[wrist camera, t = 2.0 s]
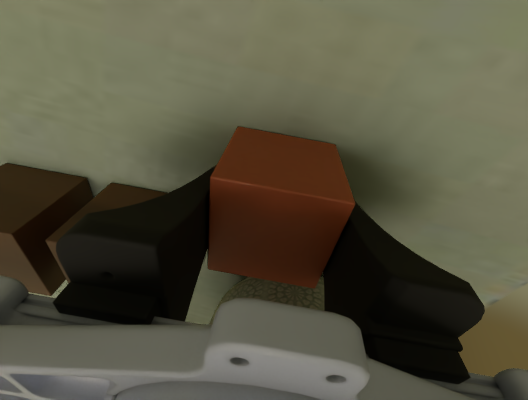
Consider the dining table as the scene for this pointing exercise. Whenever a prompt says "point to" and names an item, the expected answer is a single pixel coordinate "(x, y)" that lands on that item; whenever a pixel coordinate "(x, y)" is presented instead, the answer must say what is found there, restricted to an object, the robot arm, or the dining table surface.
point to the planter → (277, 293)
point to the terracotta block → (276, 207)
